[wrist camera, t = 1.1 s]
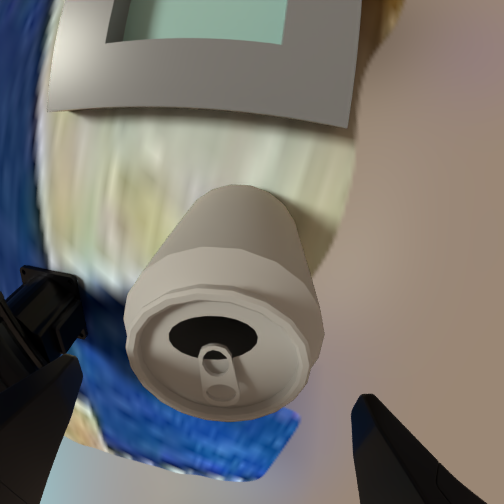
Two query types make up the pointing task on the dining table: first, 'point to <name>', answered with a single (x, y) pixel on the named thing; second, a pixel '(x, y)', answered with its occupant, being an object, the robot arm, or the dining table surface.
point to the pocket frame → (208, 56)
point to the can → (226, 310)
